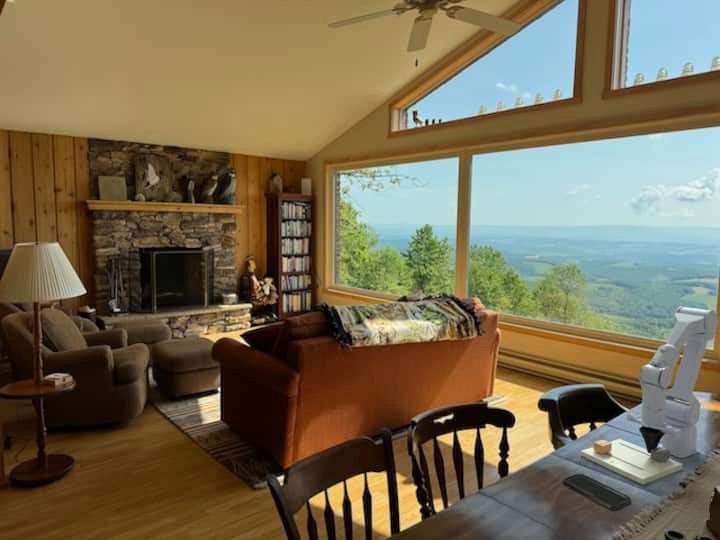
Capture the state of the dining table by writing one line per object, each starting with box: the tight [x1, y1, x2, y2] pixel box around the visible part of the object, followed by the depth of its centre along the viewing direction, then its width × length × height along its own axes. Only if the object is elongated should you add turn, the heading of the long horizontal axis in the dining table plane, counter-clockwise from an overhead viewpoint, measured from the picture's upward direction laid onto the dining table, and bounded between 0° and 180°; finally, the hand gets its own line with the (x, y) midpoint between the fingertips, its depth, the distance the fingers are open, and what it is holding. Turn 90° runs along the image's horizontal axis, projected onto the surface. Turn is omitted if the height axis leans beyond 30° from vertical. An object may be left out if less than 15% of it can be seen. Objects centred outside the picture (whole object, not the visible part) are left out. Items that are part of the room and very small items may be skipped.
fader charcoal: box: [651, 447, 671, 462], centre depth 141 cm, size 4×3×2 cm
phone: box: [562, 473, 632, 510], centre depth 127 cm, size 8×1×15 cm
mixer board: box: [580, 438, 683, 485], centre depth 143 cm, size 18×19×2 cm
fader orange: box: [593, 439, 612, 454], centre depth 146 cm, size 4×3×2 cm
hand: (651, 452), depth 144 cm, fingers closed
